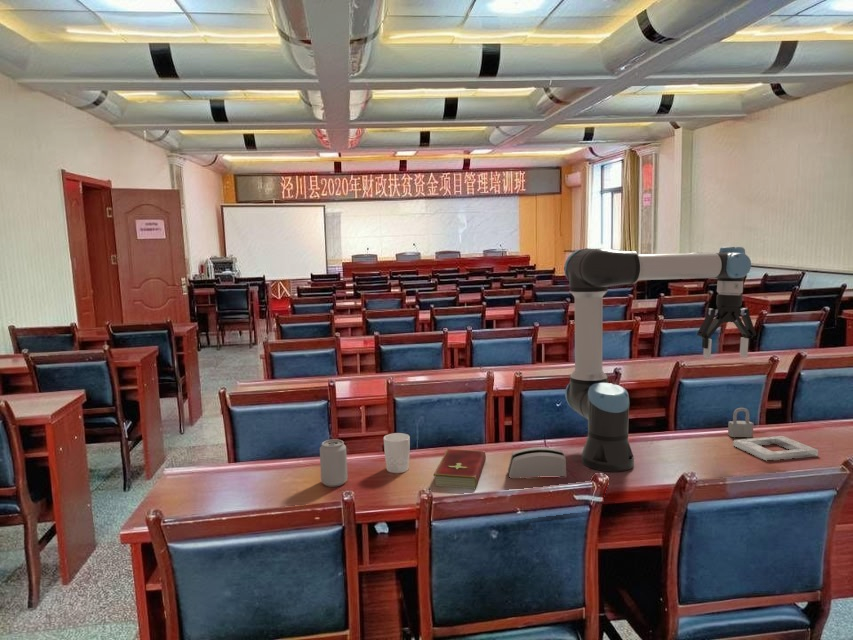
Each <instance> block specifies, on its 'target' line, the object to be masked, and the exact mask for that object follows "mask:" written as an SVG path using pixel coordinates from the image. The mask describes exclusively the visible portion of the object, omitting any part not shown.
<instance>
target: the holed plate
mask: <svg viewBox="0 0 853 640" xmlns="http://www.w3.org/2000/svg"><path fill="white" fill-rule="evenodd" d="M732 444H733V445H732V446H733V447H734V446H735V447H734V448H736V447H737V449H739V450H741V451H743V452H745V451H746V452H745V453H748V454H749V453H750V455H751V454H752V456H753V455H754V457H756V458H757V459H760V460H762V459H763V460H762V461H764V460H766V461H765V462H768V461H767V460H774V461H780V459H784V460H792V458H795V459H803V458H814V457H818V456H819V449H817V448H814V447H811V446H809V445H807V444H804V443H802V442H799V441H797V440H794V439H792V438H789V437H787V436H784V435H778V436H775V435H773V436H764V437H754V438H753V437H750V438H739V439H734V440H733V443H732ZM770 444H777V445H776V446H778V445H779V446H778V447H781V446H782V447H781V448H783V447H784V448H783V449H785V448H786V449H785V450H777V451H773V450H771V449H768V448H766V447H764V446H762V445H765V446H771V445H770ZM788 449H789V450H788Z"/></svg>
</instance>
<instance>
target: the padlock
mask: <svg viewBox="0 0 853 640" xmlns="http://www.w3.org/2000/svg"><path fill="white" fill-rule="evenodd" d="M739 412H745V420H737V419H738V414H739ZM727 428H728V429H727V430H728V431H727V432H728V433H727V435H728V436H729V437H731V438H732V437H734V438H735V437H747V438H753V437H754V422H752V421H750V411H749V410H748V409H747V408H746V407H739V408H738V407H737V408H736V409H734V411H733V414H732V421H731V420H729V421H728V427H727Z"/></svg>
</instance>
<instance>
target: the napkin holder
mask: <svg viewBox="0 0 853 640" xmlns="http://www.w3.org/2000/svg"><path fill="white" fill-rule="evenodd" d="M507 474H508V478H509V477H510V478H520V477H521V478H522V477H538V476H539V477H540V476H566V477H567V459H566V456H565V453H564V452H563V450H560V449H556V448H553V447H545V446H544V447H543V446H542V447H540V446H539V447H529V448H523V449H519V450H515V451H513V452H512V453H511V456H510V461H509V465H508V468H507ZM510 478H509V479H510Z"/></svg>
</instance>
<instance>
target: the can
mask: <svg viewBox="0 0 853 640" xmlns="http://www.w3.org/2000/svg"><path fill="white" fill-rule="evenodd" d="M319 460H320V462H319V463H320V482H321V483H322V484H323V485H324V486H326V487H329V488H330V487H331V488H335V487H339V486H343V485H344V484H345V483H346V482H347V481H348V462H347V461H348V460H347V446H346V445H345V444H344V441H343V440H341V439H336V438H335V439H334V438H333V439H327V440H325V441H322V442H321V446H320V447H319Z"/></svg>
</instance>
